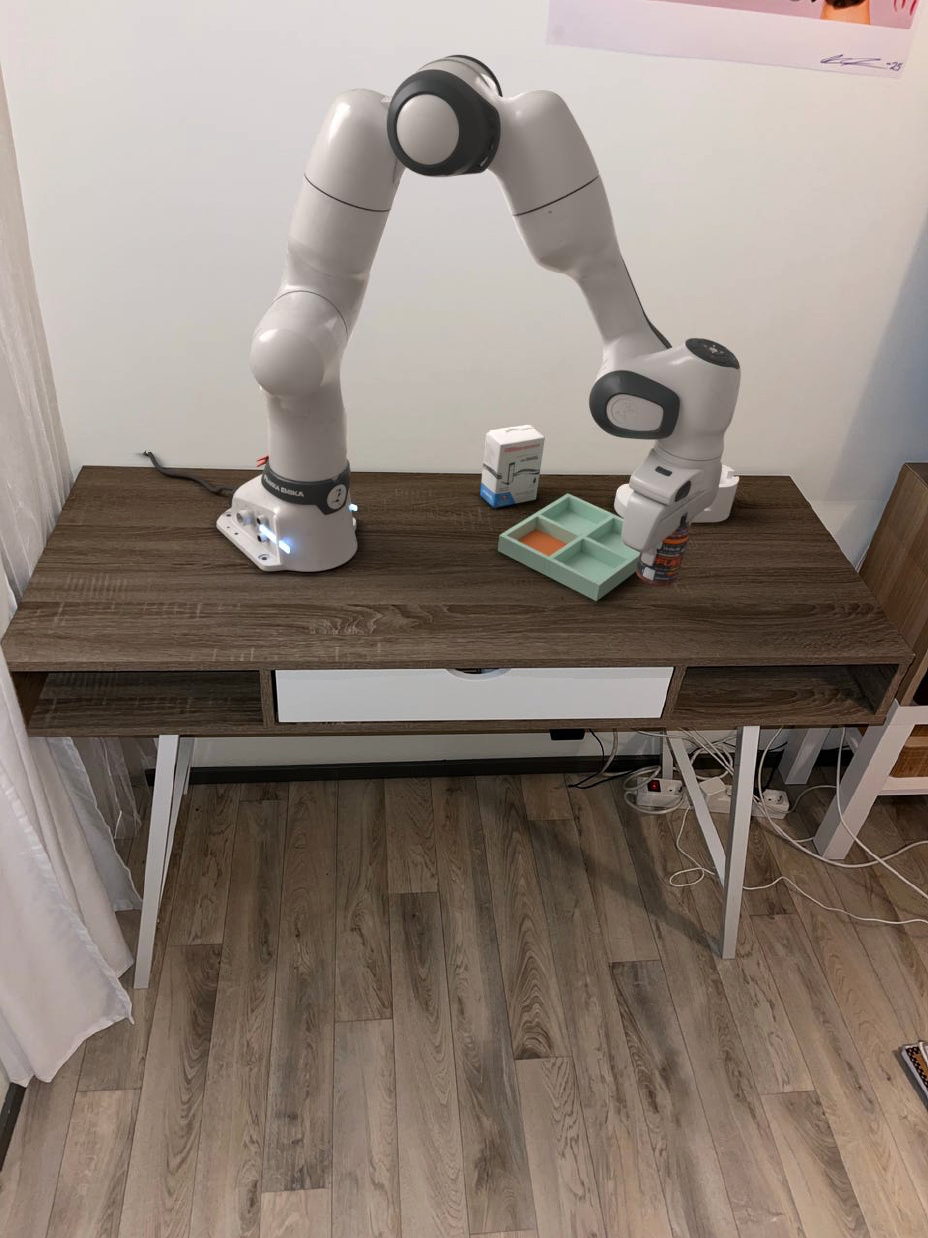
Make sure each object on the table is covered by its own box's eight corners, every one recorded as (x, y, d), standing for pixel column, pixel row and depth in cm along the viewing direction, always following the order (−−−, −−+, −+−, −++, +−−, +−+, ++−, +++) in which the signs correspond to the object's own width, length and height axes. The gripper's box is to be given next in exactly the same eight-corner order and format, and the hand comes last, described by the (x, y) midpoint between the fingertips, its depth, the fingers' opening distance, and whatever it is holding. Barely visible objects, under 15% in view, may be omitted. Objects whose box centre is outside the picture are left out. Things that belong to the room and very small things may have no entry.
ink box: (493, 509, 166) (500, 444, 158) (478, 494, 169) (485, 430, 162) (537, 499, 169) (546, 436, 162) (522, 485, 173) (530, 423, 165)
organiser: (497, 550, 156) (499, 534, 154) (565, 508, 168) (567, 493, 166) (596, 601, 147) (599, 585, 145) (660, 552, 159) (664, 537, 157)
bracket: (719, 495, 175) (728, 461, 171) (736, 521, 168) (746, 487, 164) (608, 495, 172) (614, 460, 168) (621, 523, 165) (628, 487, 161)
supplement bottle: (651, 592, 140) (668, 523, 133) (626, 569, 144) (642, 500, 137) (685, 583, 142) (704, 515, 136) (660, 561, 146) (677, 493, 140)
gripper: (701, 431, 140) (679, 516, 149) (623, 480, 127) (603, 570, 136) (741, 448, 138) (717, 533, 146) (666, 500, 124) (643, 590, 133)
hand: (661, 551), depth 141 cm, fingers closed on supplement bottle, 6 cm apart
